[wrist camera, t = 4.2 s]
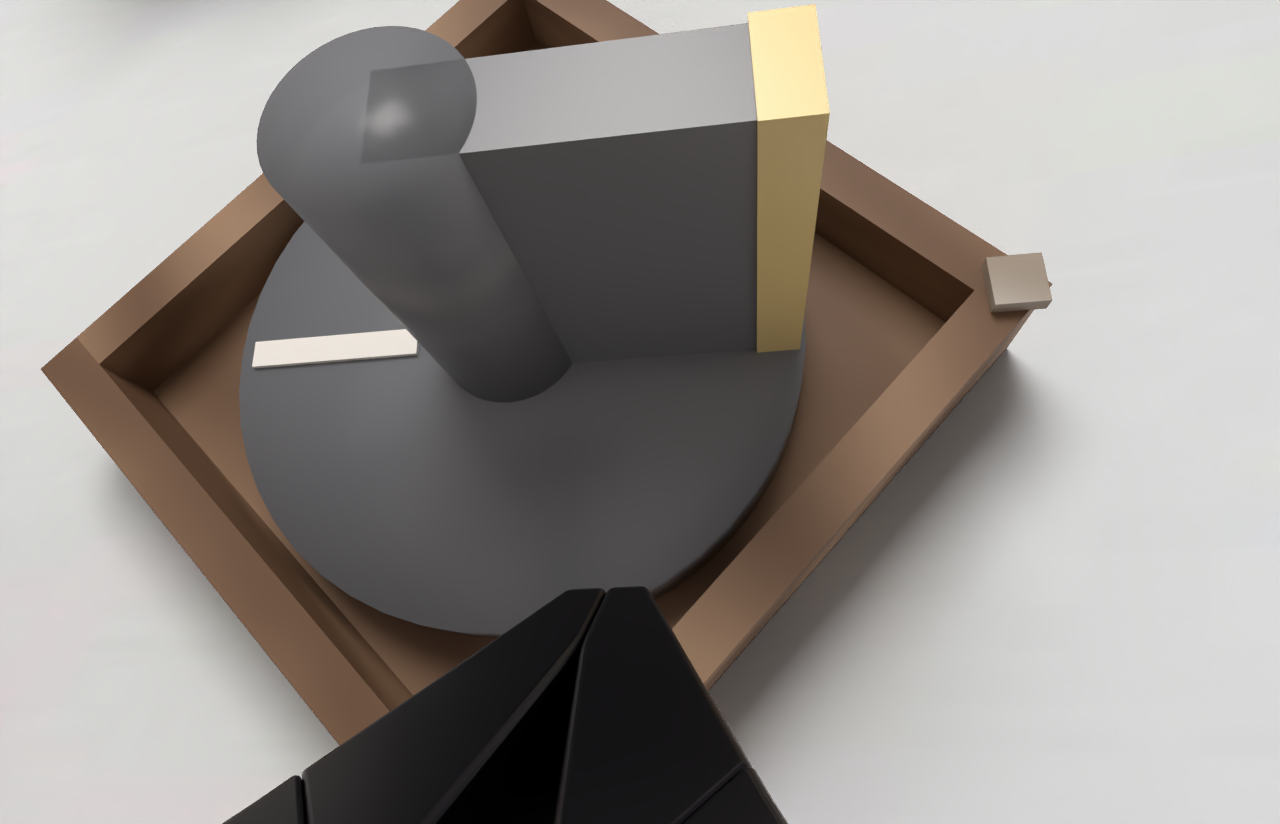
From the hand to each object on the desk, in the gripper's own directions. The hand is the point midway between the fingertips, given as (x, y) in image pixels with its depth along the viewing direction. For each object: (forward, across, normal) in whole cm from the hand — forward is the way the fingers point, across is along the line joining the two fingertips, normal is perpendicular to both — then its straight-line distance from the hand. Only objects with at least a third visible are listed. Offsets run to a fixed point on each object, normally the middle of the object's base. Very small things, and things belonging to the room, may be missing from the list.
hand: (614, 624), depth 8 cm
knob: (+13, -4, -2) cm, 14 cm away
